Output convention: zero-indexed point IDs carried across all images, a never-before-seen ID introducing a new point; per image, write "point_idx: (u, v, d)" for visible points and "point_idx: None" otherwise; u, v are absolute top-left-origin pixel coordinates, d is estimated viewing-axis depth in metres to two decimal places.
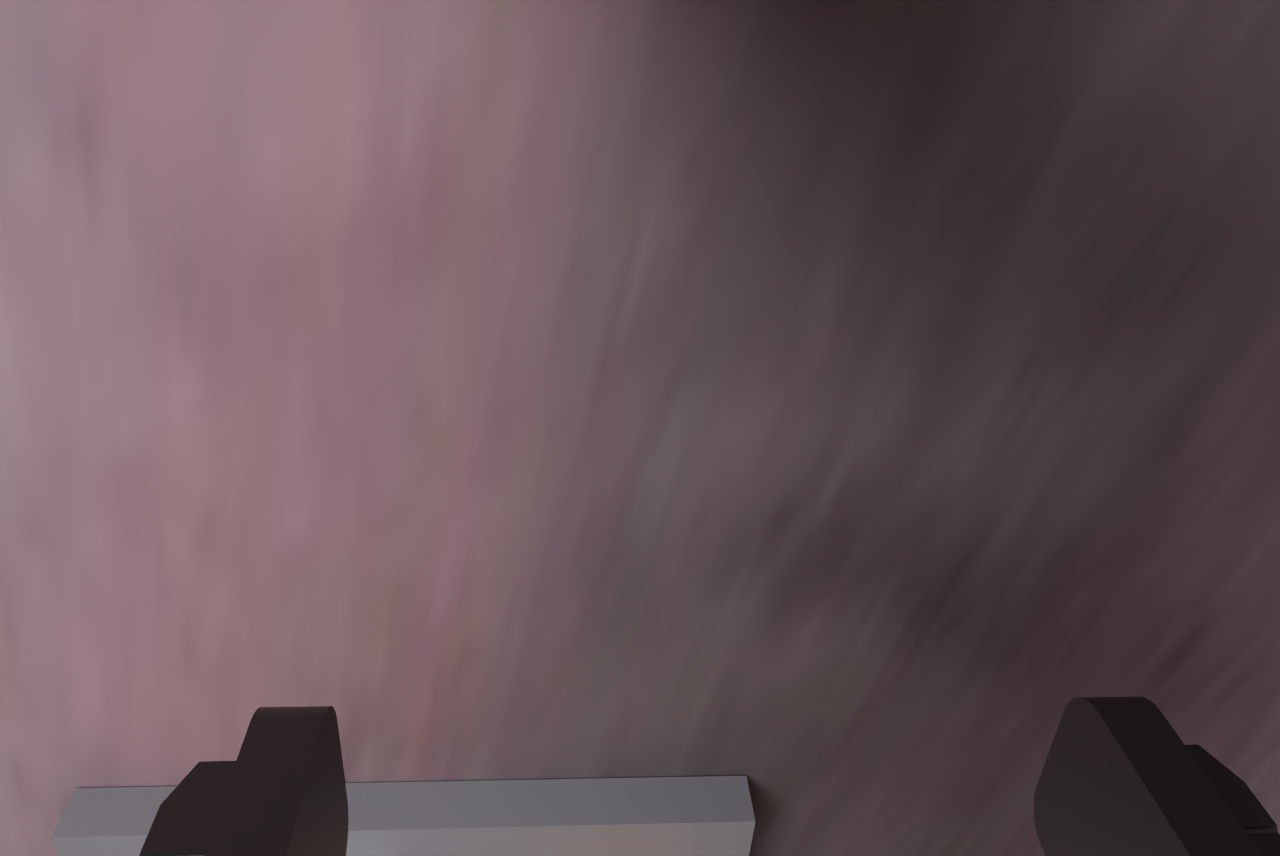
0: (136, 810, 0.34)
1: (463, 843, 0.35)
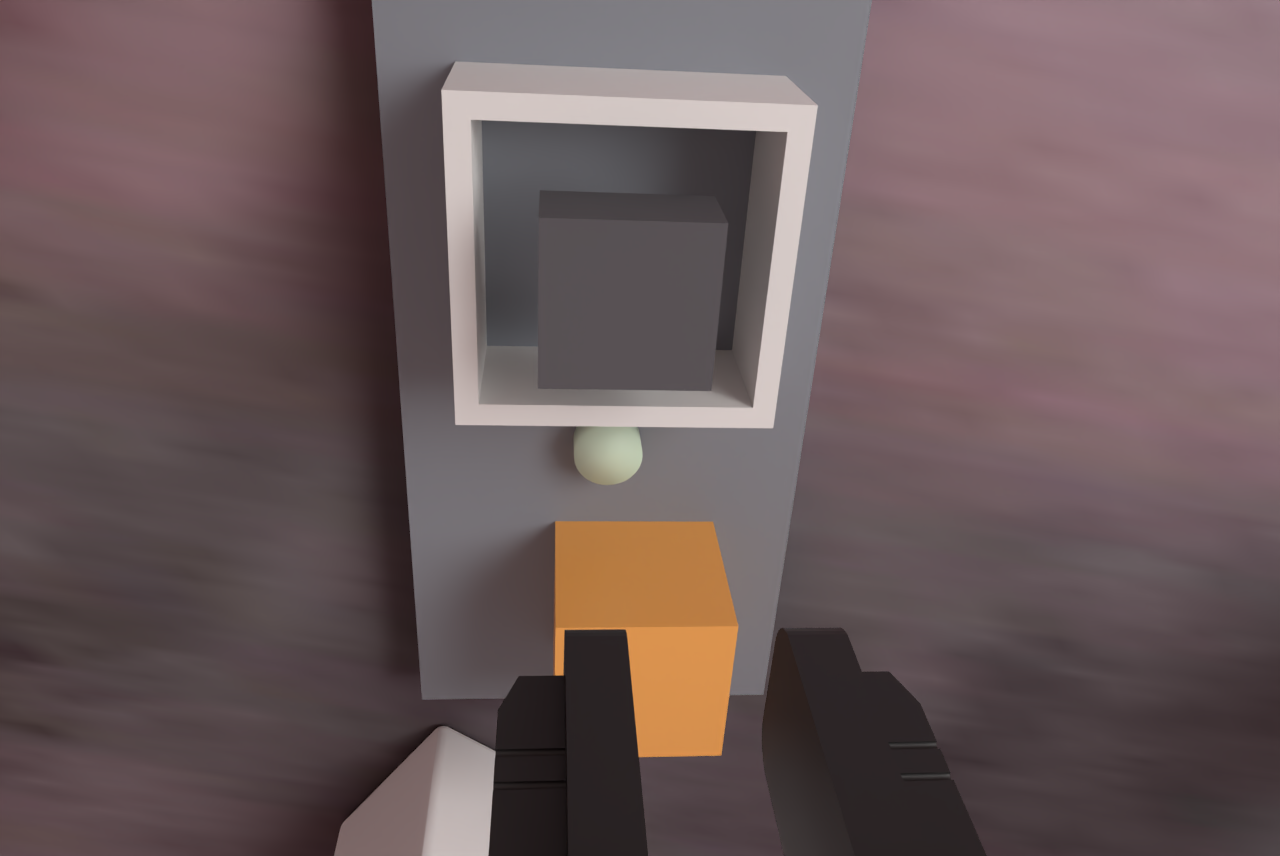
0: None
1: (774, 443, 0.30)
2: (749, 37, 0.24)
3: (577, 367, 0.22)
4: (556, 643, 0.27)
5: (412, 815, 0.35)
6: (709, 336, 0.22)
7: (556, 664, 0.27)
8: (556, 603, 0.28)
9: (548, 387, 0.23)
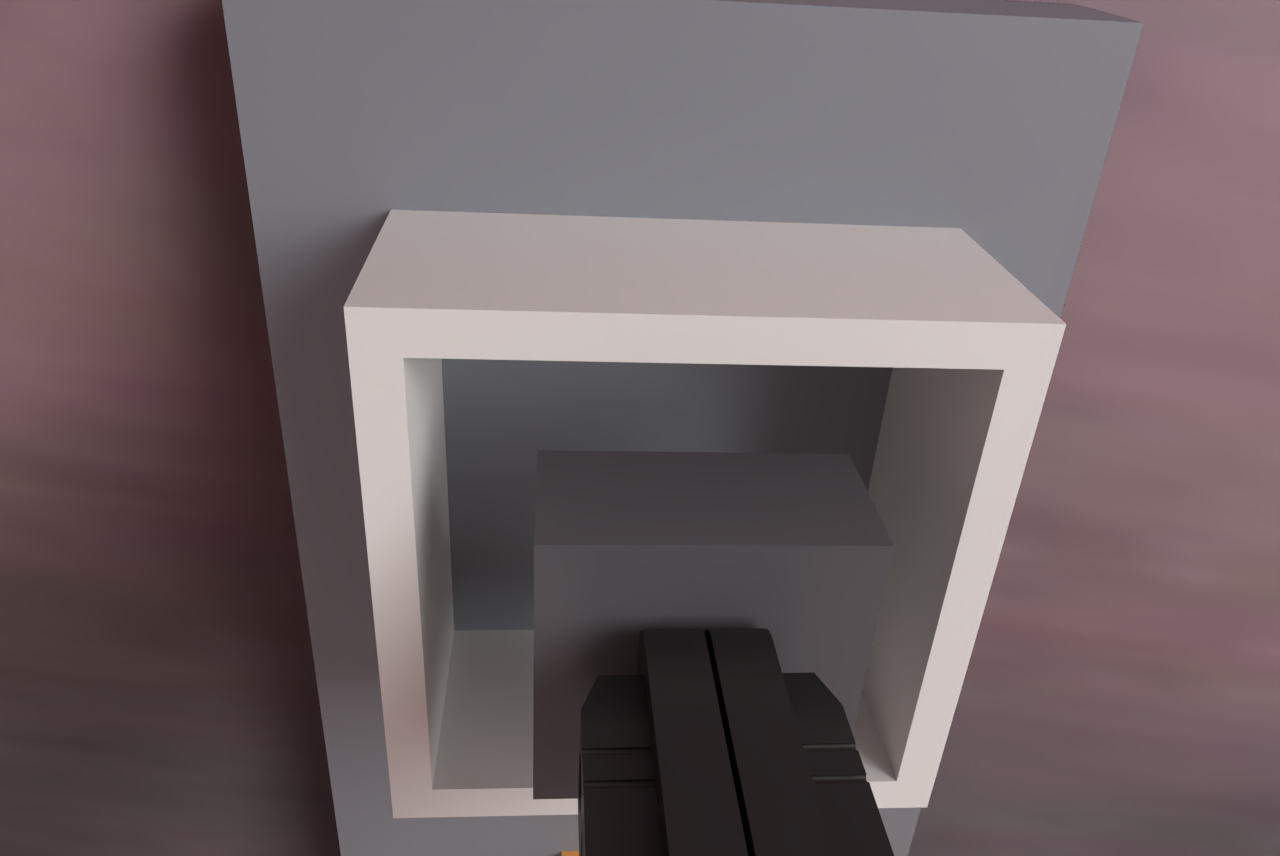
0: None
1: None
2: (903, 166, 0.14)
3: None
4: None
5: None
6: None
7: None
8: None
9: (552, 797, 0.13)
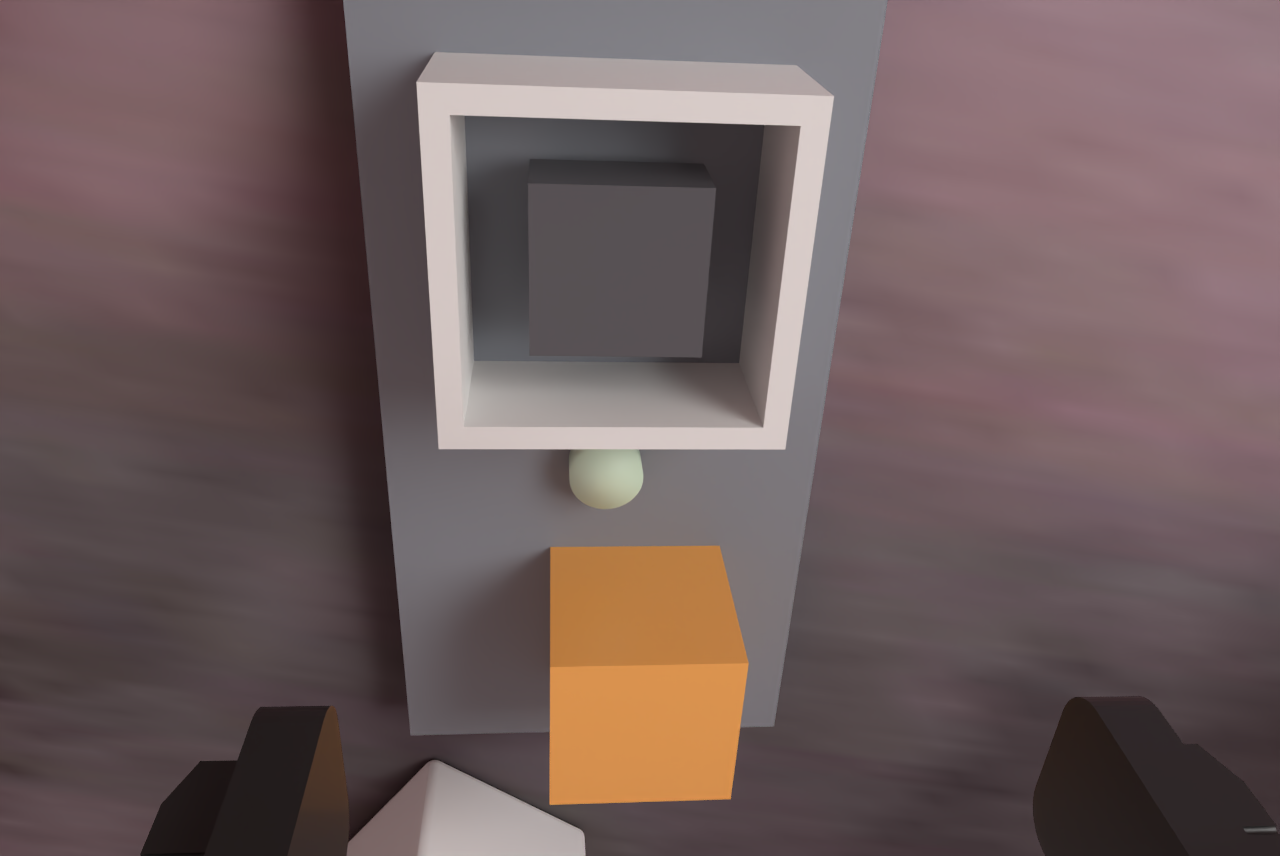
0: None
1: (785, 462, 0.28)
2: (756, 23, 0.22)
3: (568, 334, 0.23)
4: (551, 683, 0.25)
5: None
6: (699, 302, 0.22)
7: (551, 705, 0.25)
8: (551, 639, 0.26)
9: (540, 354, 0.23)
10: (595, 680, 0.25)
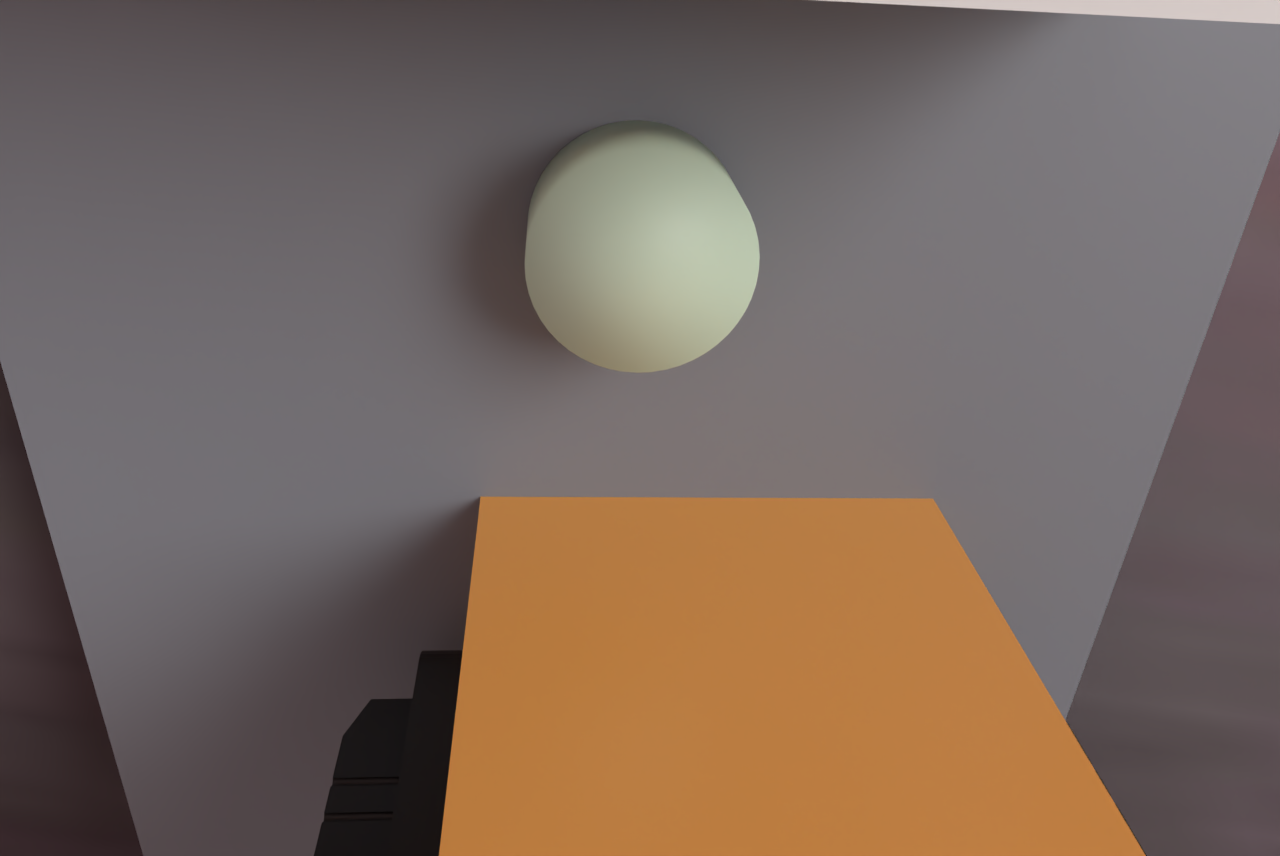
0: None
1: (1150, 255, 0.10)
2: None
3: None
4: None
5: None
6: None
7: None
8: (449, 802, 0.07)
9: None
10: None
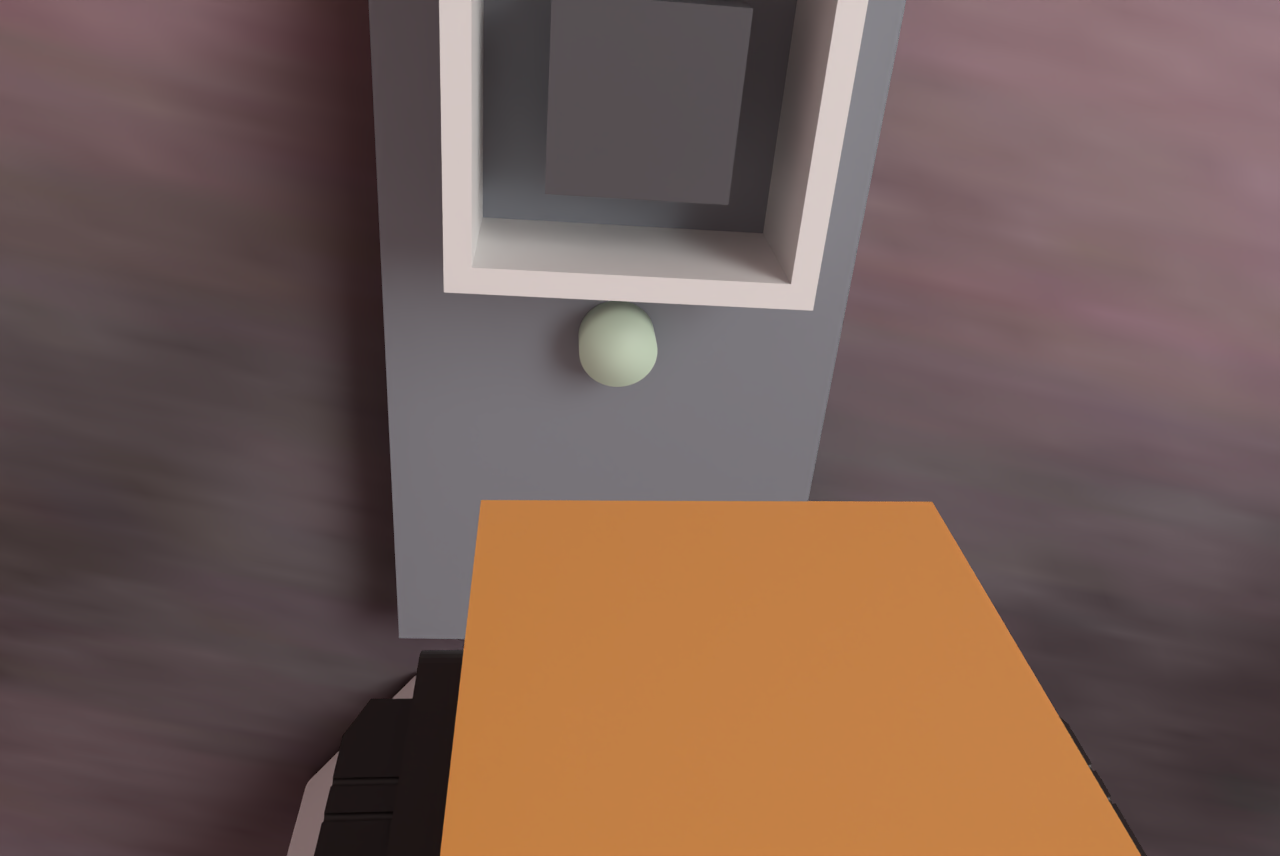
0: None
1: (806, 348, 0.27)
2: None
3: (587, 171, 0.21)
4: None
5: None
6: (728, 140, 0.21)
7: None
8: (449, 805, 0.07)
9: (556, 193, 0.21)
10: None
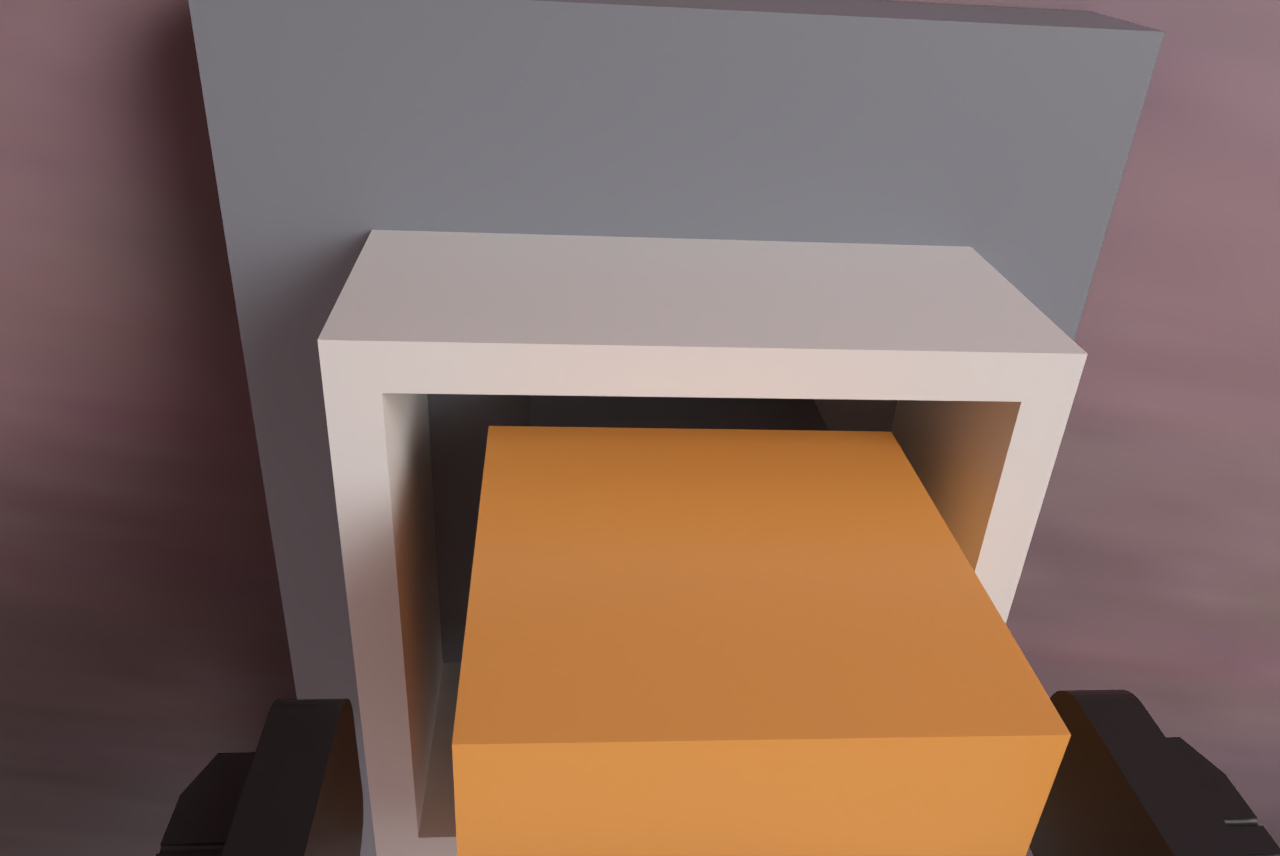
0: None
1: None
2: (911, 182, 0.13)
3: None
4: (459, 793, 0.08)
5: None
6: None
7: None
8: (465, 653, 0.09)
9: None
10: (595, 782, 0.08)
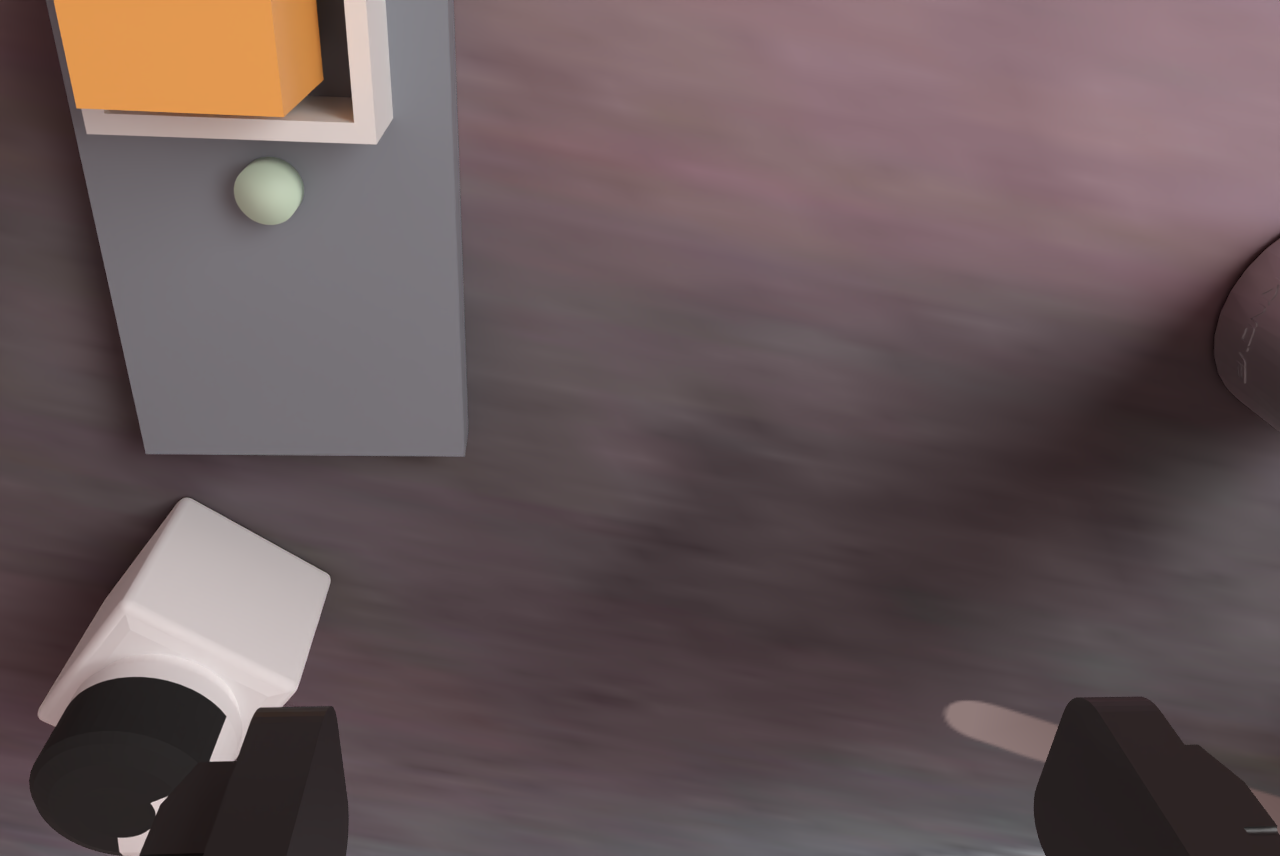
0: None
1: (429, 194, 0.34)
2: None
3: None
4: None
5: (140, 562, 0.38)
6: None
7: None
8: None
9: None
10: None
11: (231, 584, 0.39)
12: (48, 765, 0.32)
